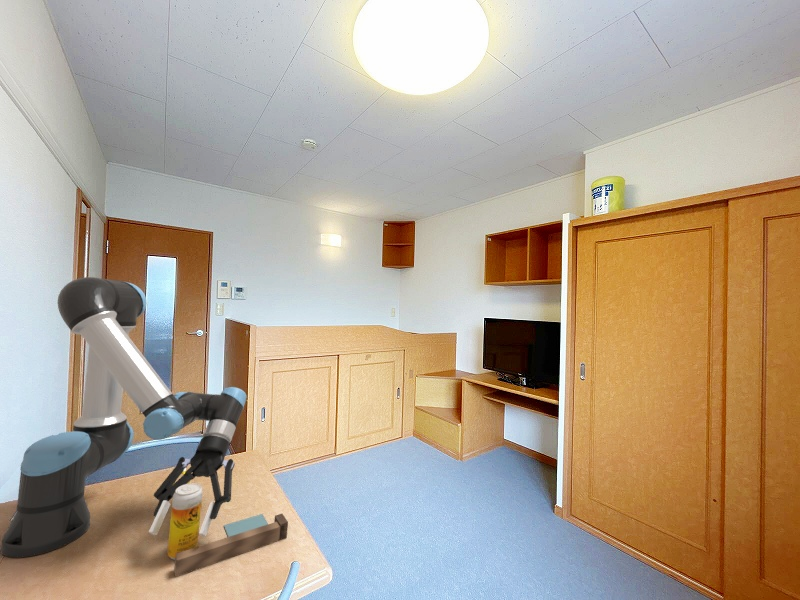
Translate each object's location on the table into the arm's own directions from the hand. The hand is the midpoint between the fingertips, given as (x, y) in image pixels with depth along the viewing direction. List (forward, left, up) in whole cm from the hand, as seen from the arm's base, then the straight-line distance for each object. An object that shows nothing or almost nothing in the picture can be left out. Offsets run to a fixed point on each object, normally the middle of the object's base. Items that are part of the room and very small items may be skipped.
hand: (177, 534), depth 78 cm
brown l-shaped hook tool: (+12, -3, -6) cm, 14 cm away
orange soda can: (+2, +2, -6) cm, 7 cm away
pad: (+17, +3, -6) cm, 18 cm away
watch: (+4, +35, -6) cm, 36 cm away
